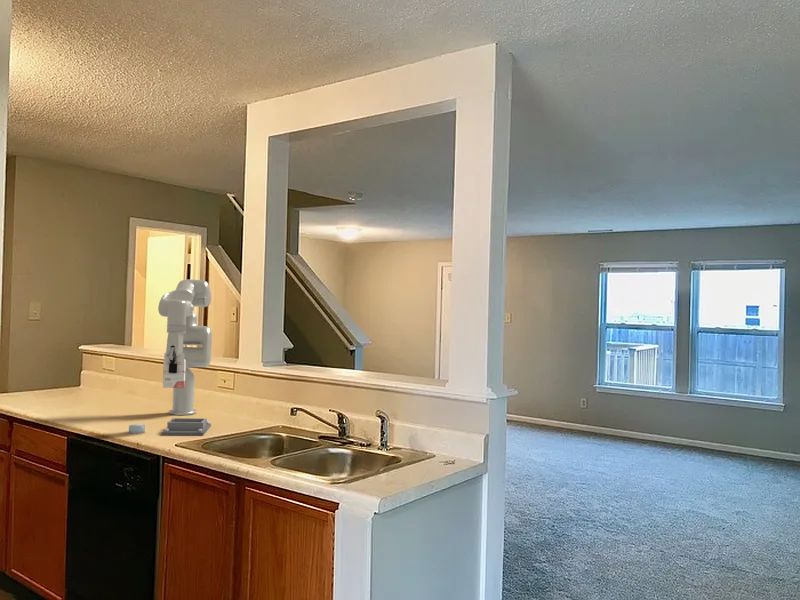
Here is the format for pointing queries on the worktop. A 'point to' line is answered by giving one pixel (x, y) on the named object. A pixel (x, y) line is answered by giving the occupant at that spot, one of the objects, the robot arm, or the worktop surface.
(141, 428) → the pale blue dome
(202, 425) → the chassis plate
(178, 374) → the ink cartridge box
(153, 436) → the worktop surface
